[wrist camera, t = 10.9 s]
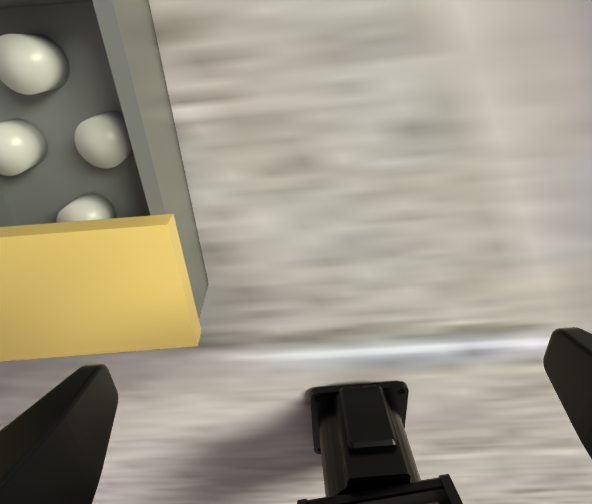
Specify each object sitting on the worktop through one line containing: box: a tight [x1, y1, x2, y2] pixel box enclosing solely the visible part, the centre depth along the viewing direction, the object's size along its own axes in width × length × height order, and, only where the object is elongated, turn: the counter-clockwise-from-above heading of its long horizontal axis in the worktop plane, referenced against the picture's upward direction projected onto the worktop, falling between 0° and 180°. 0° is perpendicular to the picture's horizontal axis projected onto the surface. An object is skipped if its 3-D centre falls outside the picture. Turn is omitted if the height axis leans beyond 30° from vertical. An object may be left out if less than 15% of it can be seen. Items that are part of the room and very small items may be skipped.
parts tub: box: [0, 0, 208, 362], centre depth 16 cm, size 14×10×5 cm
